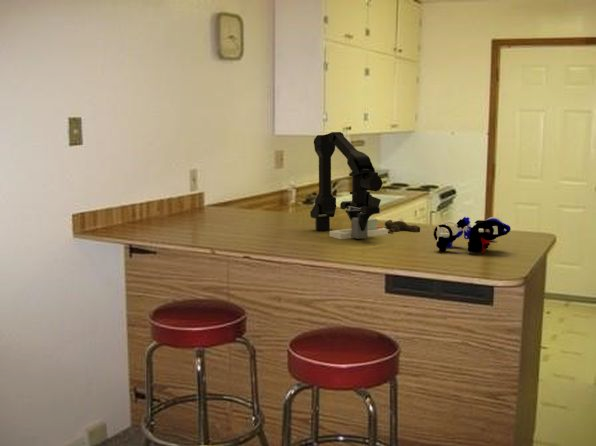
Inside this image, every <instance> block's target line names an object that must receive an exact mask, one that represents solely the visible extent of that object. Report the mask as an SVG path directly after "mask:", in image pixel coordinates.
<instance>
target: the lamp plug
mask: <svg viewBox="0 0 596 446" xmlns="http://www.w3.org/2000/svg"><path fill="white" fill-rule="evenodd" d="M377 226H378V218H373V217H369V219H368V227H367V231H368V230H377Z"/></svg>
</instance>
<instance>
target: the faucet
mask: <svg viewBox="0 0 596 446" xmlns="http://www.w3.org/2000/svg"><path fill="white" fill-rule="evenodd" d="M384 226H385V228H386V229H388V235H389V234H390V235H394V233H399V232H410V233H420V232H421V227H420V226H419V225H416V224H413V225H412V224H411V225H409V224H407V223H406V222H405V221H400V220H397V221H396V220H395V221H394V222H393V220H392V219H388V220H387V221H385V222H384Z"/></svg>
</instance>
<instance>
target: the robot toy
mask: <svg viewBox="0 0 596 446" xmlns="http://www.w3.org/2000/svg"><path fill="white" fill-rule="evenodd" d="M470 219H471V218H470V217H469V216H467V217H466V216H464V217H463V218H460V219H459V220H458V221H457V222H455V221H453V220H446V221H444V222H442V224H441V223H440V224H438V225H437V226H436V227H435V228H434V229H433V237H434V239H435V240H436V242H435V243H436V244H435V247H436V248H437V249H438V250H439V251H438V252H439V253H445V252H447V249H451V248H452V247H453V243H454V242H455V241H456V239H459V238H460V237H462V235H463V238H464V239H465V240H468V242H467V251H468V252H470V253H484V251H485V250H487V249H488V248H489V247H490V245H491V243H493V244H494V243H498V240H496V239H497V238H500V237H502V236H506V235H508V233H510V232H511V226H510V224H506V223H504V222H503V221H502V220H501V219H500V218H498V217H495V216H494V217H493V216H491V217H489V218H488V217H487V219H485V220H484V219H483V220H481V219H479V220H476V221H475V222H474V225H473V226H472V224H471V221H470ZM448 224H451V225H454V226H453V228H452V227H450V226H449V225H448ZM444 231H445V232H444Z"/></svg>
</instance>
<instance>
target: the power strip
mask: <svg viewBox="0 0 596 446" xmlns="http://www.w3.org/2000/svg"><path fill="white" fill-rule="evenodd" d="M388 232H389V228H386V227H385V228H384V227H383V226H382V225H377V230H368V231H367V237H376V236H384V235H389V233H388ZM329 237H331V238H335V239H338V240H346V239H354V238H353V237H351V228H348V229H347V228H346V229H337V230H336V229H335V230H334V229H333V230H330V231H329Z"/></svg>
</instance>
